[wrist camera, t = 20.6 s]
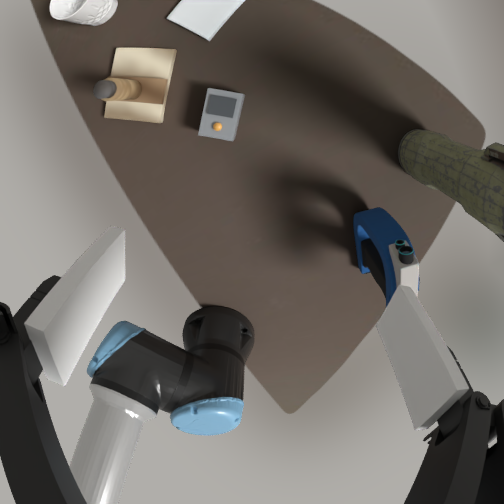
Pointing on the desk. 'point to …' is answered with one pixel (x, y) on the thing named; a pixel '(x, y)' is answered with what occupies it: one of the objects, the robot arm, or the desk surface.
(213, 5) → the external hard drive
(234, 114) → the box
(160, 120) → the panel
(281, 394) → the desk surface
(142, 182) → the desk surface
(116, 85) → the peg
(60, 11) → the white cup
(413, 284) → the handheld scanner
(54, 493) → the robot arm
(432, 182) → the thermos
